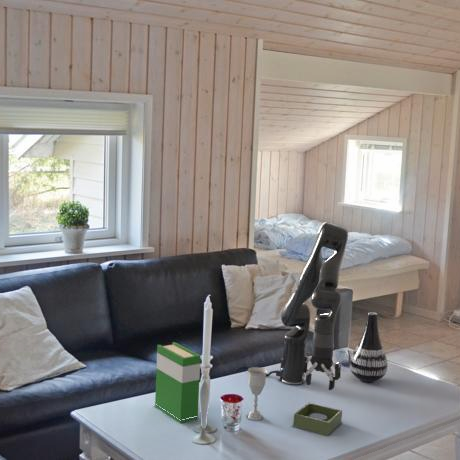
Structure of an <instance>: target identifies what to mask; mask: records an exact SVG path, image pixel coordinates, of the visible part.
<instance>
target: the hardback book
mask: <svg viewBox="0 0 460 460" xmlns="http://www.w3.org/2000/svg"><path fill="white" fill-rule="evenodd" d="M201 356H202V355H200V354H198V353H197V352H195V351H194V350H191V349H189V348H187V347H185V346H183V345H182V344H179V343H177V342H175V341H173V342H172V344H168V345H161V344H157V345H156V373H155V395H154V396H155V399H154V400H155V401H154V407H155V408H156V409H158V410H159V411H160V412H162V413H164V414H165V415H167V416H168V417H170V418H172V419H173V420H174V421H176V422H177V423H179V424H183V423H188V422H190V421H196V420H198V418H199V402H200V401H199V397H200V379H201V377H200V375H201V359H202V358H201ZM156 404H157V405H158V406H157V405H156ZM159 406H160V407H161V408H160V407H159ZM162 408H163V409H165V410H166V411H165V410H163V409H162ZM167 411H168V412H169V413H168V412H167ZM170 413H171V414H173V415H174V416H175V417H174V416H173V415H171V414H170ZM194 416H198V417H194ZM176 417H177V418H178V419H177V418H176ZM189 417H194V418H189ZM186 418H189V419H186ZM179 419H180V420H181V421H180V420H179ZM182 419H185V420H182Z"/></svg>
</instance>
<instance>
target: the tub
mask: <svg viewBox="0 0 460 460" xmlns="http://www.w3.org/2000/svg"><path fill="white" fill-rule="evenodd" d="M313 413H321V414H324V415H326V416H327V421H323V420H319V419H315V418H311V417H310V414H313ZM342 419H343V410H342V409H338V408H333V407H329V406H325V405H320V404H317V403H312V402H307V403H306V404H305V405H303V406H302V407H301V408H300V409H298V410H297V411H296V412H295V413H293V424H292V425H293V427H294V428H297V429H301V430H305V431H309V432H313V433H317V434H320V435H324V436H329V435H330V434H331V433H332V432H334V431H335V429H336V428H337V427H339V426H340V425H341V424H342Z"/></svg>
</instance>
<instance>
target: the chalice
mask: <svg viewBox="0 0 460 460" xmlns="http://www.w3.org/2000/svg"><path fill="white" fill-rule="evenodd" d="M247 372H248V381H247V383H248V387H249V389H250V391H251V394H252V395H254V397H253V409H252V410H251V411H250V412H249V414H248V416H247V418H248V419H249V420H253V421H259V420H262V418H263V417H262V414H261V412H260V410H258V406H259V404H258V401H259V398H258V396H259V395H261V393H262V392H263V390H264V388H265V385H266V380H267V379H266V378H267V376H266V374H268V369H266V368H264V367H259V366H258V367H257V366H255V367H253V366H252V367H250V368H249V369H247Z"/></svg>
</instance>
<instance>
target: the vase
mask: <svg viewBox="0 0 460 460" xmlns="http://www.w3.org/2000/svg"><path fill="white" fill-rule="evenodd" d="M378 316H379V315H378V313H377V312H374V311H369V312H368V313H367V318H366V322H365V326H364V329H363V333H362V335H361V338H360V340H359V341H358V344H357V346H356V347H355V349H354V350H353V353H352V354H351V357H350V359H349V369H350V372H351V374H352V375H353V376H354V377H355V378H356V379H358V380H359V381H361V383H366V384H373V383H375V382H378V381H380V380H381V379H382V378H384V377H385V376H386V374H387V371H388V368H389V367H388V363H389V362H388V359H387V355H386V353H385V350H384V348H383V345H382V341H381V338H380V332H379V321H378V319H379V318H378Z"/></svg>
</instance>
